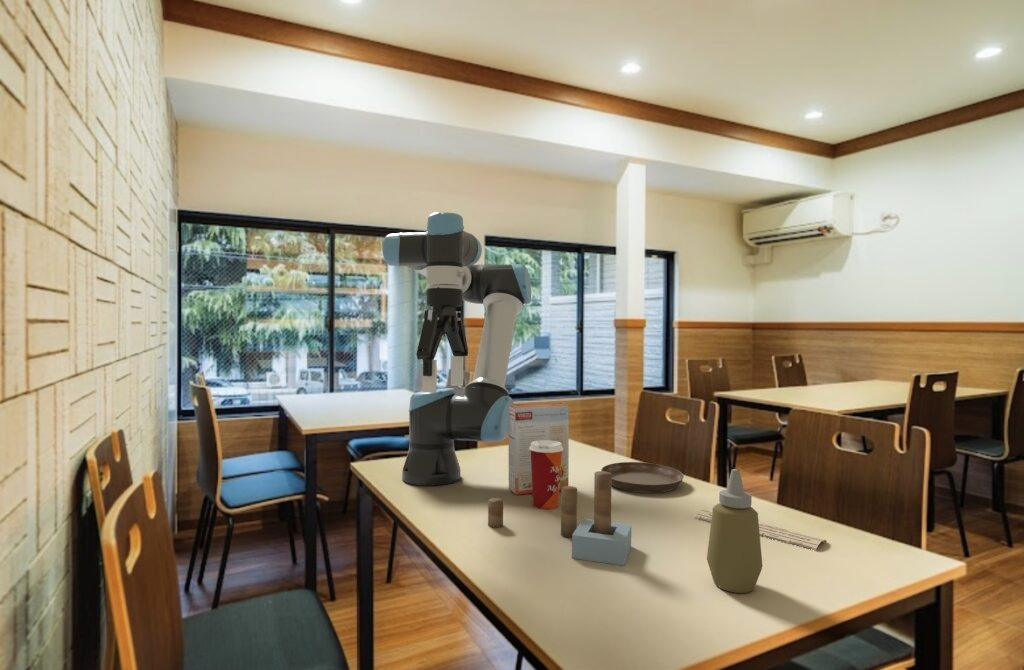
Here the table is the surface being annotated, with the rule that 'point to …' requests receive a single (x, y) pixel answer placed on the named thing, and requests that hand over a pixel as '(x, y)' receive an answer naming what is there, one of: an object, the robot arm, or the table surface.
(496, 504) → the short walnut peg
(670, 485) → the plant saucer
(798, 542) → the newspaper
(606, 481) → the long walnut peg
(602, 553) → the slate-blue socket block
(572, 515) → the medium walnut peg
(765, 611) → the table surface
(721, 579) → the squeeze bottle
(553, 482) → the paper cup
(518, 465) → the cracker box
